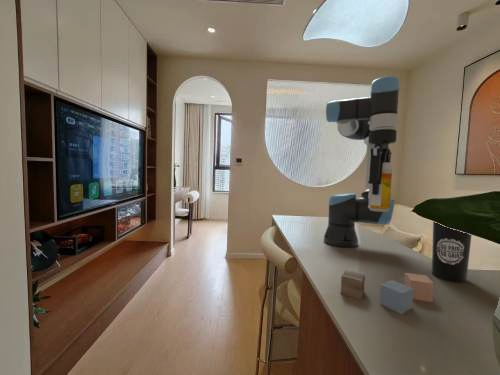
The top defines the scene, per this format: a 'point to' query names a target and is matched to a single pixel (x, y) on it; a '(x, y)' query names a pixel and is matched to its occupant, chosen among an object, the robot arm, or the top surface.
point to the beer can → (383, 189)
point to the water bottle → (450, 254)
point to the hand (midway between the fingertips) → (378, 204)
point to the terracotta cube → (420, 286)
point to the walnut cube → (352, 284)
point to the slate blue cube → (396, 296)
